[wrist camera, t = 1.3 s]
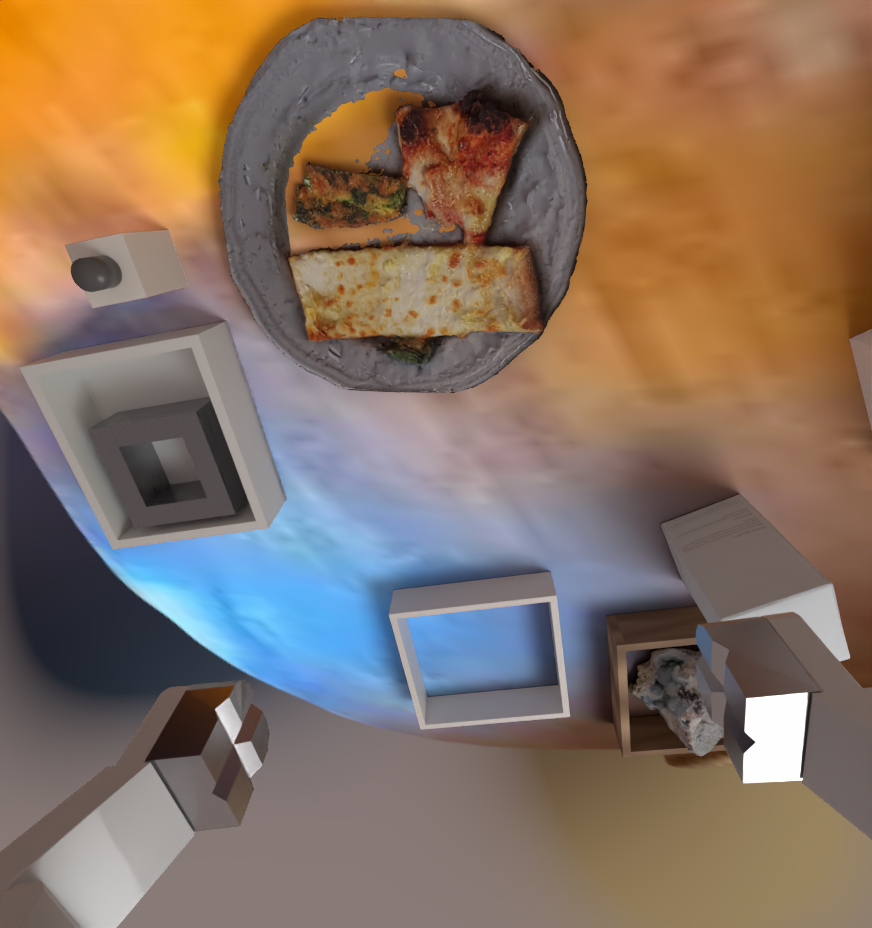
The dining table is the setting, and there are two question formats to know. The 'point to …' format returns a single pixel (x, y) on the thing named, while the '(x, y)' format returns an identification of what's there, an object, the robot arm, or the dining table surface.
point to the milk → (864, 366)
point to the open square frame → (479, 704)
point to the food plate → (406, 205)
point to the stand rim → (626, 636)
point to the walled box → (150, 384)
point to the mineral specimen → (677, 697)
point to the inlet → (143, 476)
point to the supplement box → (750, 570)
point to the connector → (126, 267)
